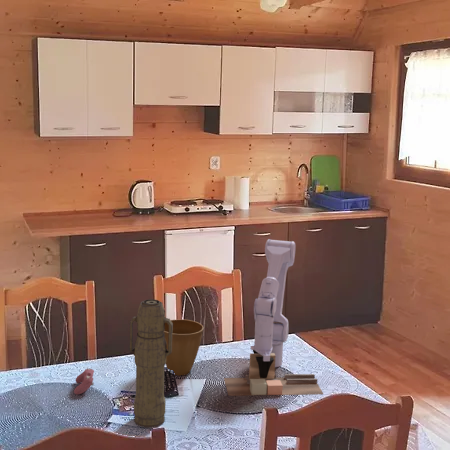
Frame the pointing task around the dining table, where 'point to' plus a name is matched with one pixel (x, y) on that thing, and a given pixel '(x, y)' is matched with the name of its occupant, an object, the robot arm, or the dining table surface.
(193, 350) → the plant pot
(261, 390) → the offcut sage
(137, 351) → the thermos
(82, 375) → the red curved piece
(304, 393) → the walnut rack
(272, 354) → the birch sheet
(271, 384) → the offcut terracotta
